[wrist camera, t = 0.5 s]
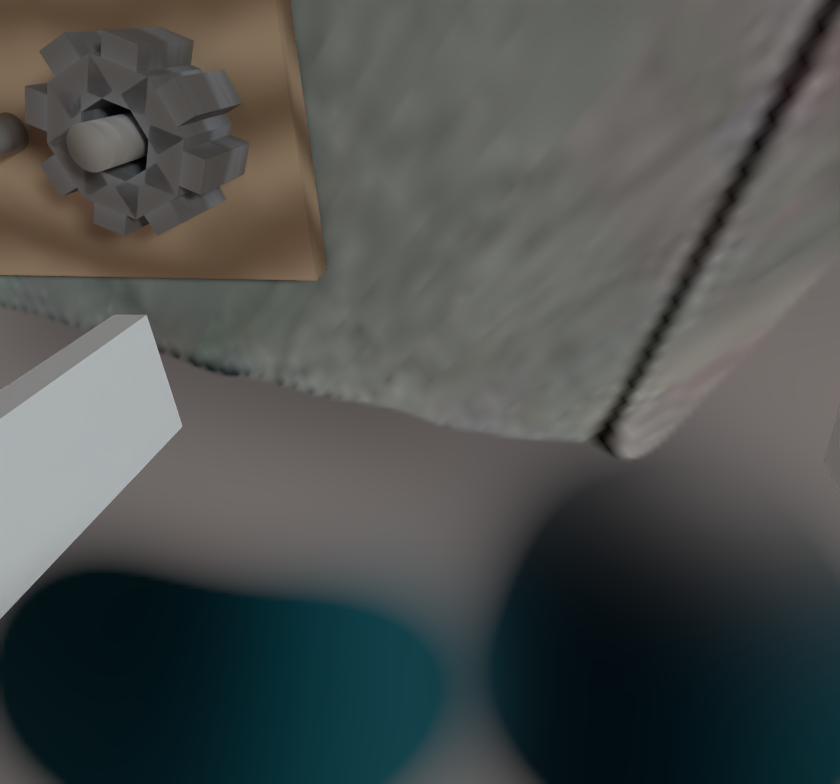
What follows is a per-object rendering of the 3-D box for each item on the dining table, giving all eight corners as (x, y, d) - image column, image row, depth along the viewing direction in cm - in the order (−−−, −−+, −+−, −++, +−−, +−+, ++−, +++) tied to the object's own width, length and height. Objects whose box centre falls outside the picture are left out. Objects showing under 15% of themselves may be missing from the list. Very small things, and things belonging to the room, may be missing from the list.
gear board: (-138, -35, 37) (-322, -47, 29) (278, -81, 31) (183, -111, 24) (-13, 264, 46) (-130, 314, 38) (327, 269, 40) (269, 328, 33)
